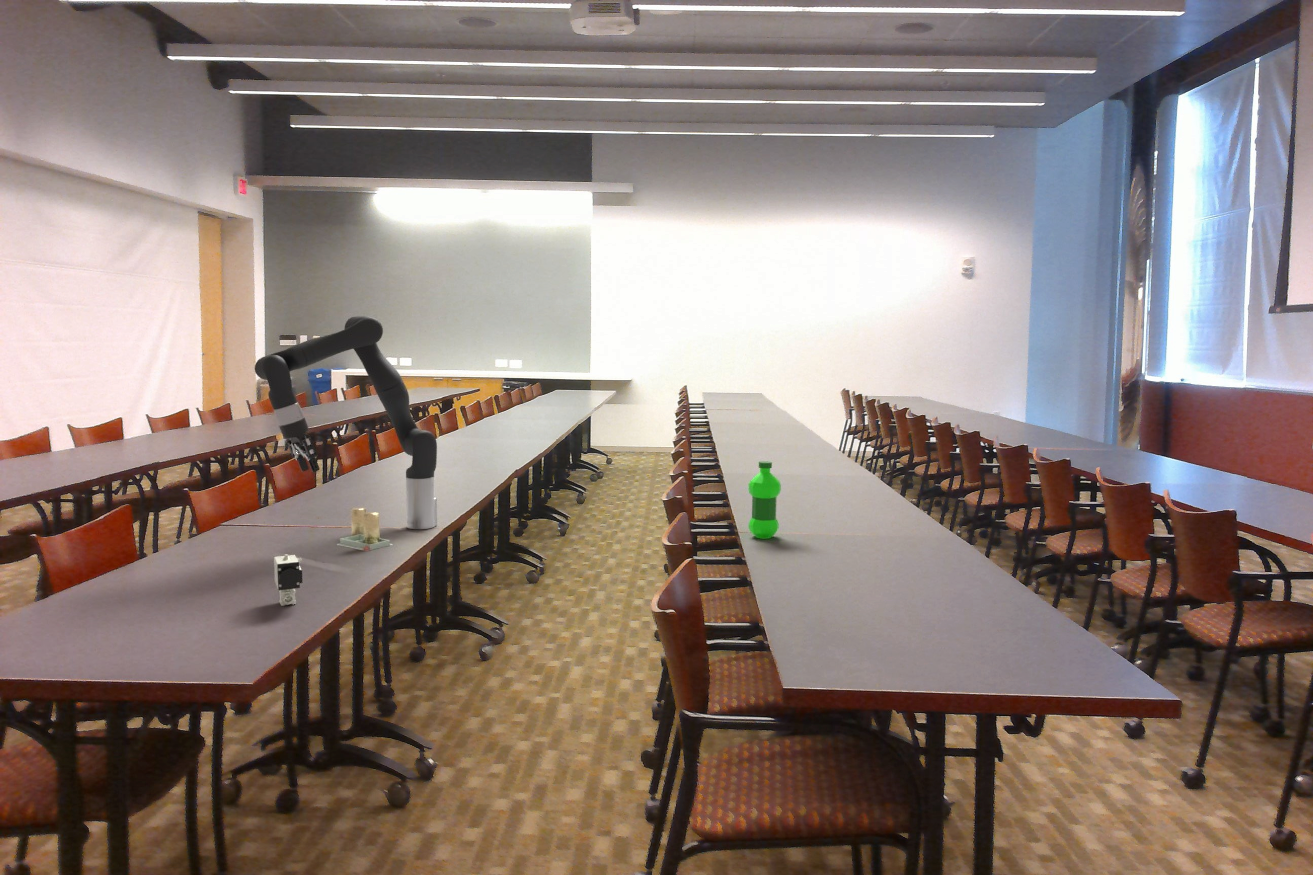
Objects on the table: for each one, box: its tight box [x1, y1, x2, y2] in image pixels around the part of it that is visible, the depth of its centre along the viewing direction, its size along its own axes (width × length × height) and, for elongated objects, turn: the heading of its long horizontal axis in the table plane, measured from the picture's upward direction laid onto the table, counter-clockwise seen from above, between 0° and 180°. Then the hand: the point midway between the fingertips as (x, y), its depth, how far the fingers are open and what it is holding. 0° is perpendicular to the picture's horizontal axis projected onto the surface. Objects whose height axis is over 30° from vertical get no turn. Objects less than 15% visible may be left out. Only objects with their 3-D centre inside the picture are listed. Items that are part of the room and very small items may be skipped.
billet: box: [350, 507, 367, 536], centre depth 271 cm, size 4×4×10 cm
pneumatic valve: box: [273, 553, 303, 607], centre depth 205 cm, size 6×12×12 cm, turn 29°
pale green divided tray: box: [336, 534, 394, 552], centre depth 260 cm, size 10×14×3 cm
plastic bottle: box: [748, 460, 782, 540], centre depth 281 cm, size 10×10×25 cm
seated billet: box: [363, 511, 381, 544], centre depth 257 cm, size 4×4×10 cm
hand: (310, 470), depth 258 cm, fingers open, 8 cm apart
